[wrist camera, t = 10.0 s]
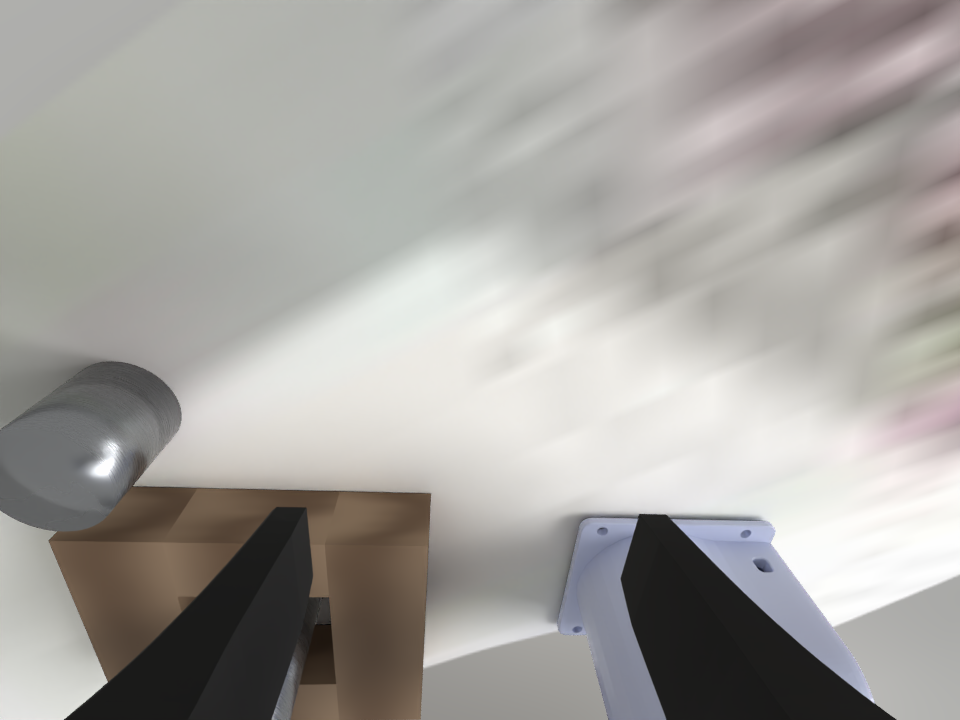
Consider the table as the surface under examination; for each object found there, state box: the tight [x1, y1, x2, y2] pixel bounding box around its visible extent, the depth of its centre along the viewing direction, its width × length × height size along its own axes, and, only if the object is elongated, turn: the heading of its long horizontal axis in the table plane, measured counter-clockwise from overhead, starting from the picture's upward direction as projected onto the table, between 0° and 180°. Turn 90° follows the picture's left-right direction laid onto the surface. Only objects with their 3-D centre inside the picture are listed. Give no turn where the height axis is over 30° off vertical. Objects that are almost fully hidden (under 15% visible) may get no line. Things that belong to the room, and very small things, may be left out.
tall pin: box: [272, 597, 322, 720], centre depth 21 cm, size 4×4×8 cm
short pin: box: [0, 362, 181, 531], centre depth 18 cm, size 4×4×4 cm
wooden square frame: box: [49, 487, 431, 720], centre depth 23 cm, size 14×12×3 cm
